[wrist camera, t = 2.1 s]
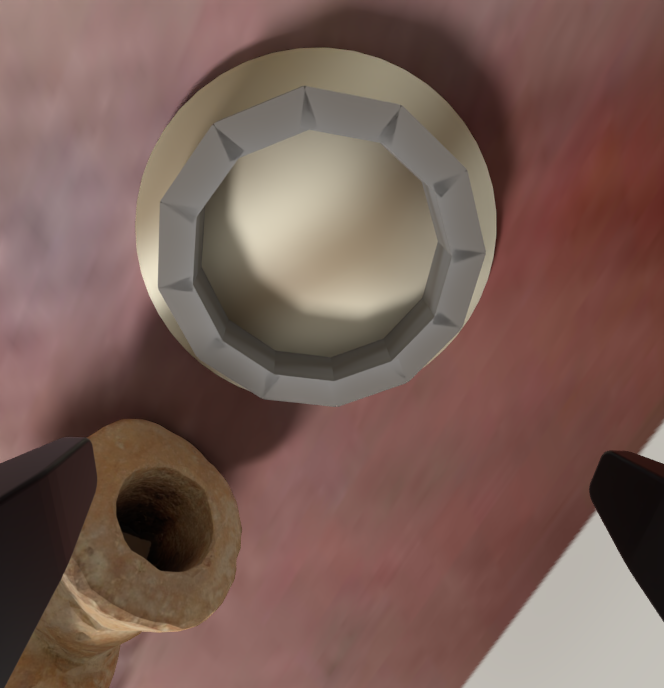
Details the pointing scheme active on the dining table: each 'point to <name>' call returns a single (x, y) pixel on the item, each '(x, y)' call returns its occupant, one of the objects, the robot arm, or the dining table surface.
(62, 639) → the pipe
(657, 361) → the dining table surface
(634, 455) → the robot arm
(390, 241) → the holder ring
